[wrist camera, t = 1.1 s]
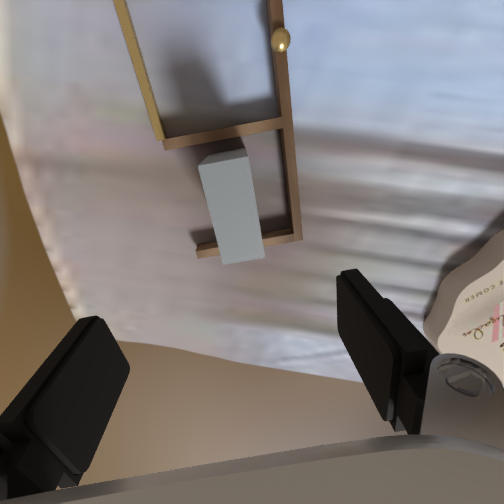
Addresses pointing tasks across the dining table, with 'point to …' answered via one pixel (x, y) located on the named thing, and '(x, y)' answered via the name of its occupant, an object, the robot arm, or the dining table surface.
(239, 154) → the pale gray rectangular prism
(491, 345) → the decorative plaque
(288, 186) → the frame
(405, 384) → the robot arm
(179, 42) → the dining table surface
